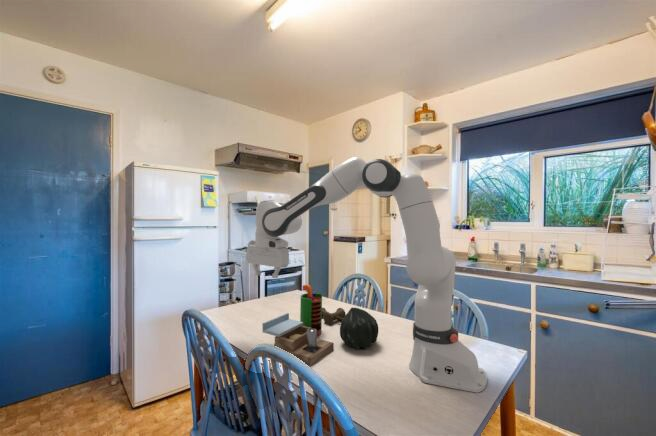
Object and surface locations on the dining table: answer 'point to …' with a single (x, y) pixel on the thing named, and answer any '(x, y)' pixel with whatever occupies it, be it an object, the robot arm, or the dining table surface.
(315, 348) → the jaw peg
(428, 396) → the dining table surface
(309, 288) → the motor
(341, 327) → the squash
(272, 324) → the lid
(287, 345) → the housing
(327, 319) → the brown rope toy
